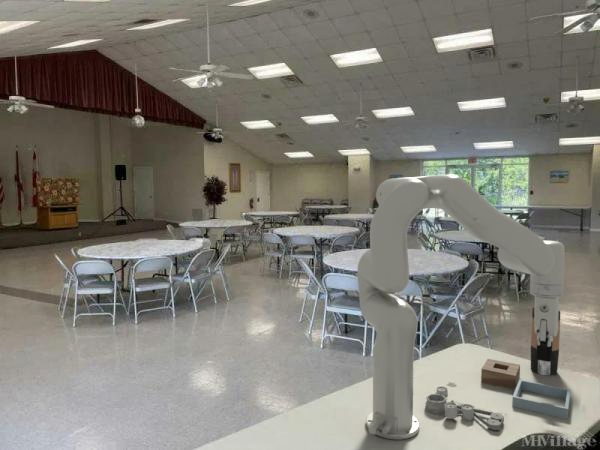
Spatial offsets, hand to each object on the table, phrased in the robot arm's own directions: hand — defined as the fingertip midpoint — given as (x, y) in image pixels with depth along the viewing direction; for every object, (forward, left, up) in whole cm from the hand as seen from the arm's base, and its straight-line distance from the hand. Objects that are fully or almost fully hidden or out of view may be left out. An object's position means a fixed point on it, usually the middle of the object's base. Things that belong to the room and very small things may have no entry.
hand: (544, 357), depth 120 cm
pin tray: (0, 0, -13) cm, 13 cm away
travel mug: (+23, +2, -13) cm, 26 cm away
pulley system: (-13, +20, -14) cm, 27 cm away
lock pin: (0, 0, -4) cm, 4 cm away
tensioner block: (+9, +12, -13) cm, 20 cm away
